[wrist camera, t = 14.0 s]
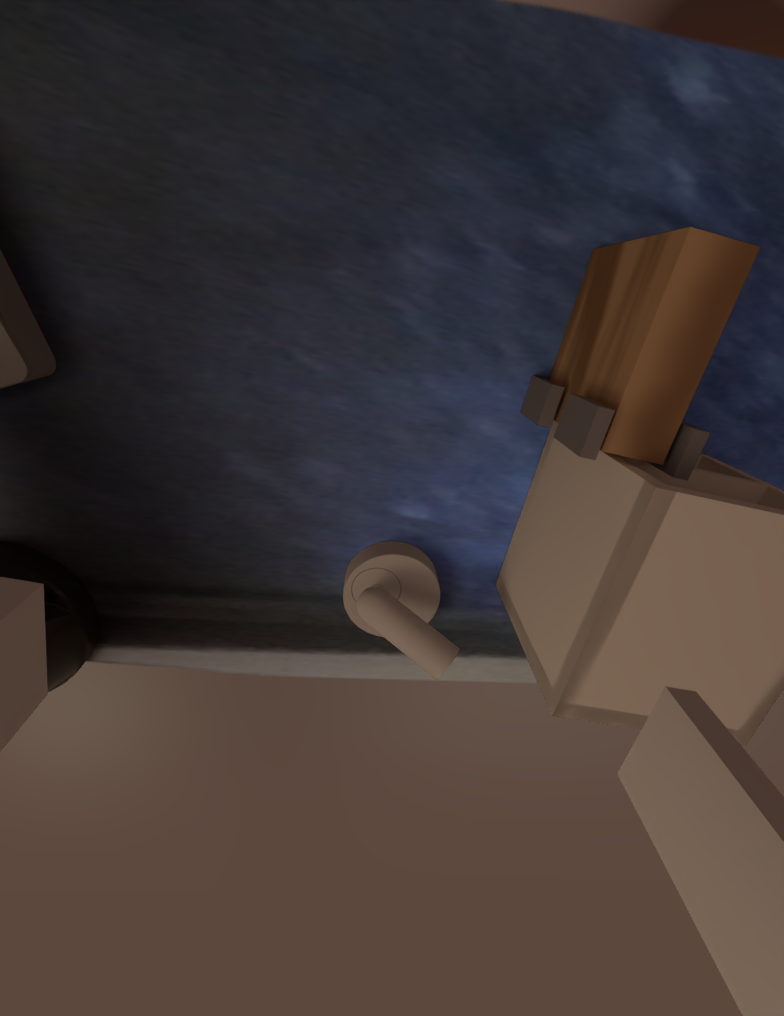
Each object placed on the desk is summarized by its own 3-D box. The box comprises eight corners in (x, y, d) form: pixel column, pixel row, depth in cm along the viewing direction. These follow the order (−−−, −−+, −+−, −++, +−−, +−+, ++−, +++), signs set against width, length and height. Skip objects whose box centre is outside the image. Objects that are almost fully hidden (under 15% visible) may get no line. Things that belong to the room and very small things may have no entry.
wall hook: (426, 715, 40) (317, 665, 38) (416, 640, 49) (327, 596, 47) (489, 640, 38) (376, 580, 35) (467, 575, 46) (375, 524, 44)
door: (538, 410, 41) (601, 451, 30) (593, 249, 36) (690, 226, 25) (597, 423, 41) (680, 468, 30) (658, 267, 37) (781, 252, 26)
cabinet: (465, 579, 47) (509, 709, 32) (532, 375, 40) (628, 420, 25) (632, 610, 49) (745, 745, 34) (723, 421, 42) (916, 487, 27)
